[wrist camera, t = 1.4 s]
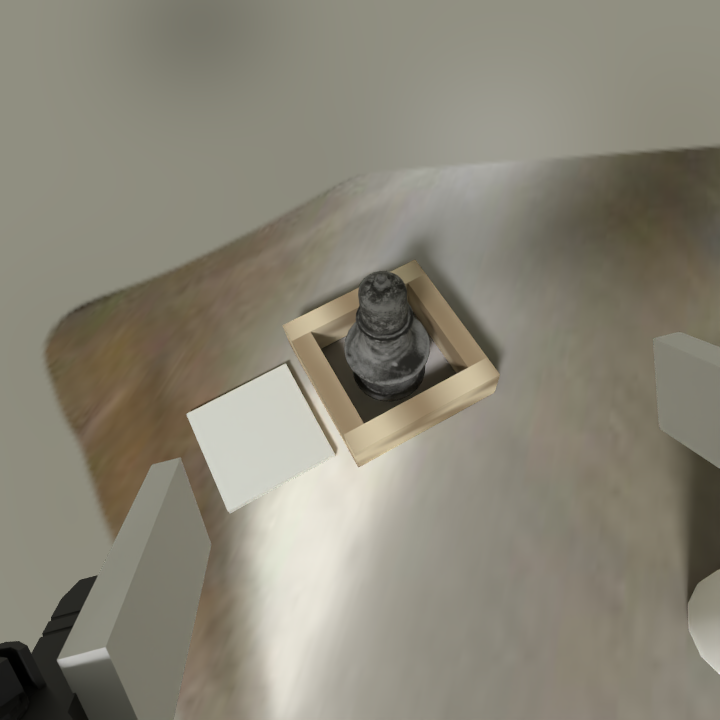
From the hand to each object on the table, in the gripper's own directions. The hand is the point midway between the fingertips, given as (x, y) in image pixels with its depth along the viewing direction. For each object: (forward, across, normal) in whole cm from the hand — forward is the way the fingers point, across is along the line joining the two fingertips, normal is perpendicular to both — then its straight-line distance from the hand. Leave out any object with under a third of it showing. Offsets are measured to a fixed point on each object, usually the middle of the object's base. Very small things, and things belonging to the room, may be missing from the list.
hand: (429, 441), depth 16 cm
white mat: (+25, -8, -9) cm, 28 cm away
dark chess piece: (+27, +2, -7) cm, 28 cm away
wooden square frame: (+26, +2, -7) cm, 27 cm away
